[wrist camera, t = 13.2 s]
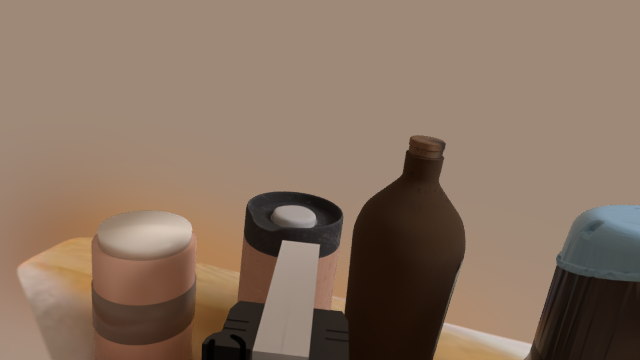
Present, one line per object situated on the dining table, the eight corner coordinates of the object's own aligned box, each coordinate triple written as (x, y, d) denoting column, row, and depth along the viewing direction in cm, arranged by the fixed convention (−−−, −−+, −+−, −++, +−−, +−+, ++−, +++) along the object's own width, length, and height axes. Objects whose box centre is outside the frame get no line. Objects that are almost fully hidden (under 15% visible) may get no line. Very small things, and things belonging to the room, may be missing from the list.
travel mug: (305, 381, 46) (332, 192, 40) (321, 447, 39) (357, 230, 33) (226, 385, 44) (242, 188, 38) (229, 455, 37) (248, 227, 31)
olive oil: (338, 405, 44) (382, 148, 36) (327, 333, 54) (360, 121, 46) (446, 409, 45) (511, 161, 37) (416, 338, 55) (462, 132, 47)
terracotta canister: (177, 320, 53) (181, 204, 48) (205, 373, 46) (213, 242, 41) (87, 341, 48) (82, 213, 43) (103, 404, 41) (99, 259, 36)
